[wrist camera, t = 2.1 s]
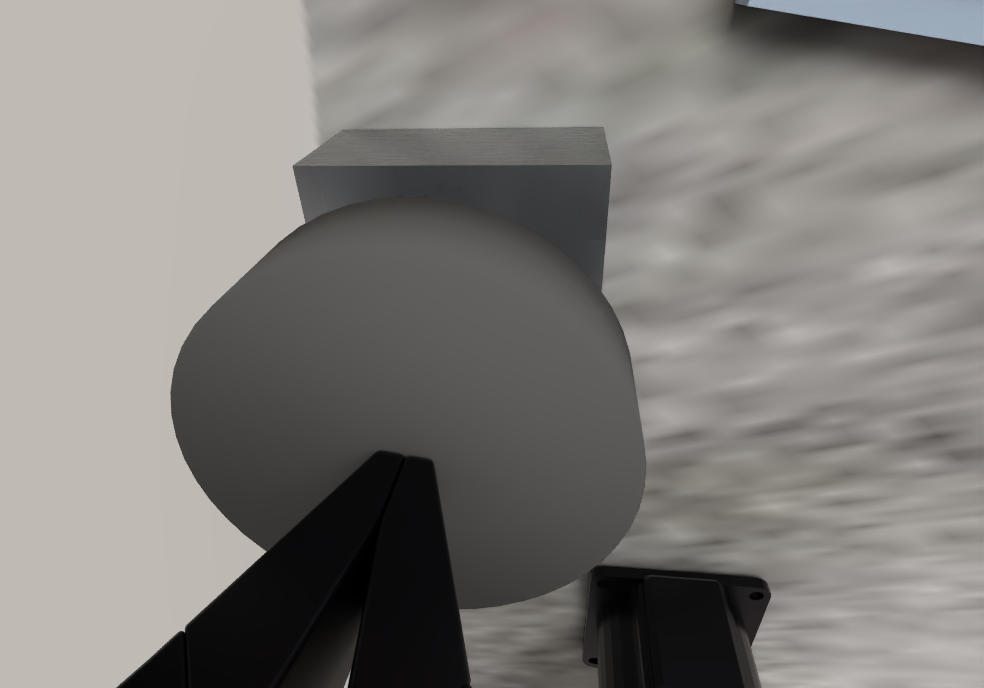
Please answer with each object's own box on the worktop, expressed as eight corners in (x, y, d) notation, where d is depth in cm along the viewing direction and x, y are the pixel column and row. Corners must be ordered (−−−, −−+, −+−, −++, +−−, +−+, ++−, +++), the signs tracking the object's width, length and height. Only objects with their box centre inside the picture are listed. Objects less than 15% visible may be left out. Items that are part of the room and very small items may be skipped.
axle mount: (588, 350, 16) (591, 419, 14) (379, 344, 17) (347, 408, 15) (603, 127, 13) (611, 164, 10) (342, 129, 14) (292, 165, 11)
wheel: (606, 431, 14) (622, 625, 10) (336, 418, 15) (246, 592, 11) (635, 142, 10) (681, 259, 6) (268, 144, 11) (88, 251, 7)
